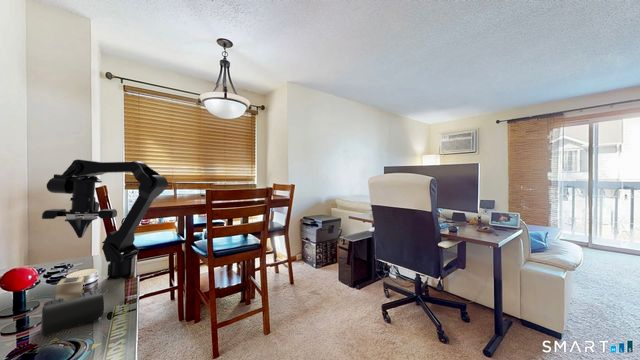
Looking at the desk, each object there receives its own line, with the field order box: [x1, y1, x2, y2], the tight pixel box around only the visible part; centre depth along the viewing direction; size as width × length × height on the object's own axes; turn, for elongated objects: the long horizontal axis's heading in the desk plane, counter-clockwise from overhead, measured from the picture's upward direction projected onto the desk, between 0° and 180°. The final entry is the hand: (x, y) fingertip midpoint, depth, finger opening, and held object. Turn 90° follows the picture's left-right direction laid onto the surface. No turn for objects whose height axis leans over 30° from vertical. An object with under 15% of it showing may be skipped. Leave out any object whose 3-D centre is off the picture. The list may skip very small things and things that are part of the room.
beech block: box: [55, 276, 85, 301], centre depth 71 cm, size 5×5×5 cm
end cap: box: [40, 290, 105, 337], centre depth 58 cm, size 10×7×7 cm
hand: (80, 237), depth 87 cm, fingers closed
